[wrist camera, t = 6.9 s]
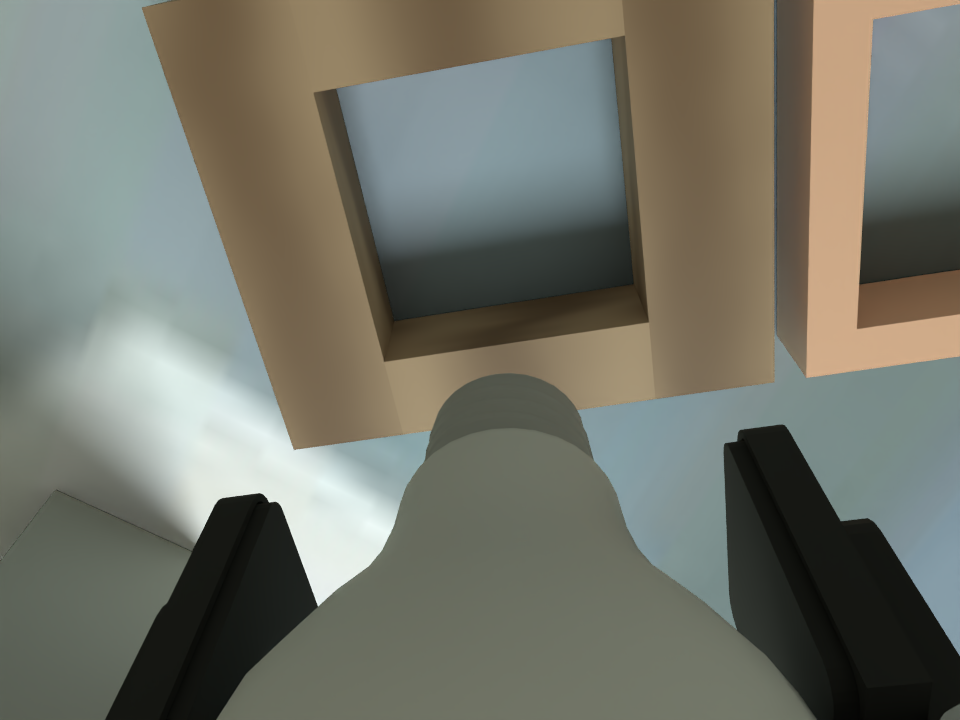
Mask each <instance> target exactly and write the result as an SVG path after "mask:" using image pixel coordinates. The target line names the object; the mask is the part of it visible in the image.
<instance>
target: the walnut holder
mask: <svg viewBox="0 0 960 720" xmlns="http://www.w3.org/2000/svg"><path fill="white" fill-rule="evenodd" d="M142 10H143V13H144V16H145V19H146V22H147V25H148V28H149V30H150V33H151V36H152V39H153V42H154V45H155V48H156V51H157V54H158V57H159V59H160V62H161V65H162V68H163V71H164V74H165V77H166V80H167V83H168V86H169V89H170V91H171V94H172V97H173V100H174V103H175V106H176V109H177V112H178V115H179V118H180V120H181V123H182V126H183V129H184V132H185V135H186V138H187V141H188V144H189V147H190V149H191V152H192V155H193V158H194V161H195V164H196V167H197V170H198V173H199V176H200V178H201V181H202V184H203V187H204V190H205V193H206V196H207V199H208V202H209V205H210V208H211V210H212V213H213V216H214V219H215V222H216V225H217V228H218V231H219V234H220V237H221V239H222V242H223V245H224V248H225V251H226V254H227V257H228V260H229V263H230V266H231V268H232V271H233V274H234V277H235V280H236V283H237V286H238V289H239V292H240V295H241V297H242V300H243V303H244V306H245V309H246V312H247V315H248V318H249V321H250V324H251V327H252V329H253V332H254V335H255V338H256V341H257V344H258V347H259V350H260V353H261V356H262V358H263V361H264V364H265V367H266V370H267V373H268V376H269V379H270V382H271V385H272V387H273V390H274V393H275V396H276V399H277V402H278V405H279V408H280V411H281V414H282V416H283V419H284V422H285V425H286V428H287V431H288V434H289V437H290V440H291V443H292V446H293V448H294V450H296V449H303V448H310V447H317V446H324V445H332V444H339V443H346V442H353V441H360V440H367V439H374V438H381V437H388V436H396V435H403V434H410V433H417V432H424V431H431V430H432V428H433V425H434V423H435V420H436V417H437V414H438V412H439V410H440V409H441V407H442V406H443V404H444V403H445V401H446V400H447V399H448V398H449V397H450V396H451V395H452V394H453V393H454V392H455V391H456V390H458V389H459V388H461V387H462V386H464V385H465V384H467V383H469V382H471V381H474V380H476V379H478V378H481V377H485V376H489V375H493V374H504V373H515V374H523V375H529V376H532V377H535V378H539V379H542V380H544V381H546V382H548V383H550V384H551V385H553V386H555V387H556V388H558V389H559V390H560V391H561V392H563V393H564V394H565V395H566V396H567V397H568V398H569V399H570V401H571V402H572V403H573V404H574V405H575V407H576V409H577V410H581V409H588V408H595V407H602V406H609V405H616V404H623V403H630V402H637V401H645V400H652V399H659V398H666V397H673V396H680V395H687V394H694V393H701V392H709V391H716V390H723V389H730V388H737V387H744V386H751V385H758V384H765V383H773V382H774V0H171V1H167V2H163V3H159V4H155V5H151V6H147V7H142ZM609 38H611V39H612V50H613V61H614V72H615V83H616V94H617V105H618V116H619V127H620V138H621V149H622V160H623V171H624V182H625V193H626V203H627V214H628V225H629V236H630V247H631V258H632V269H633V280H634V284H632V285H625V286H619V287H612V288H606V289H599V290H593V291H587V292H580V293H574V294H567V295H561V296H554V297H548V298H541V299H535V300H528V301H522V302H515V303H509V304H502V305H496V306H489V307H483V308H476V309H470V310H463V311H457V312H450V313H444V314H437V315H431V316H424V317H418V318H411V319H405V320H398V321H394V318H393V314H392V310H391V306H390V302H389V298H388V294H387V290H386V286H385V282H384V278H383V274H382V270H381V266H380V262H379V258H378V254H377V250H376V246H375V242H374V238H373V234H372V230H371V226H370V222H369V218H368V214H367V210H366V206H365V202H364V198H363V194H362V190H361V186H360V182H359V178H358V174H357V170H356V166H355V162H354V158H353V154H352V150H351V146H350V142H349V138H348V134H347V130H346V126H345V122H344V118H343V114H342V110H341V106H340V102H339V98H338V94H337V90H336V88H341V87H347V86H352V85H357V84H363V83H368V82H374V81H379V80H385V79H390V78H396V77H401V76H407V75H412V74H418V73H423V72H429V71H434V70H439V69H445V68H450V67H456V66H461V65H467V64H472V63H478V62H483V61H489V60H494V59H500V58H505V57H510V56H516V55H521V54H527V53H532V52H538V51H543V50H549V49H554V48H560V47H565V46H571V45H576V44H582V43H587V42H592V41H598V40H603V39H609Z"/></svg>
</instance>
